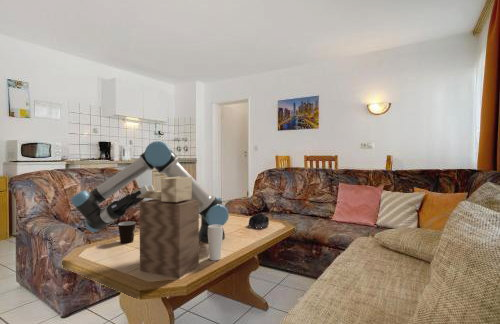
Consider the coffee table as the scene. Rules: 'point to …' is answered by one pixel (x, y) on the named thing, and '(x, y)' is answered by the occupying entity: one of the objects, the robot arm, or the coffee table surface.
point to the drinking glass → (215, 241)
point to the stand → (169, 237)
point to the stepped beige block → (172, 190)
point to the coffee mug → (126, 232)
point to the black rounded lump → (259, 221)
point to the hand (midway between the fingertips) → (149, 187)
